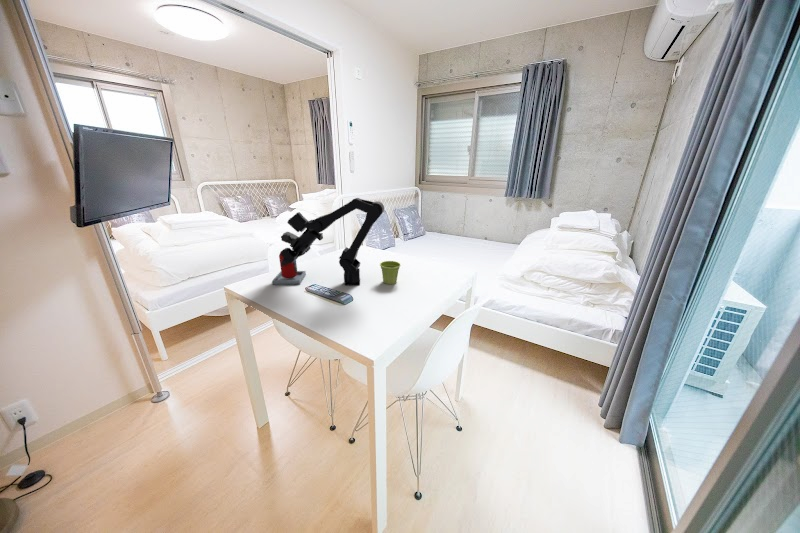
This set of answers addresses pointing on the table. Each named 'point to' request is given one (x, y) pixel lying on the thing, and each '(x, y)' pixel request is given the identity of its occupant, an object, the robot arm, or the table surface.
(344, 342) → the table surface
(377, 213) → the robot arm
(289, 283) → the slate tray
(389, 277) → the plant pot
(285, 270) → the beverage can
